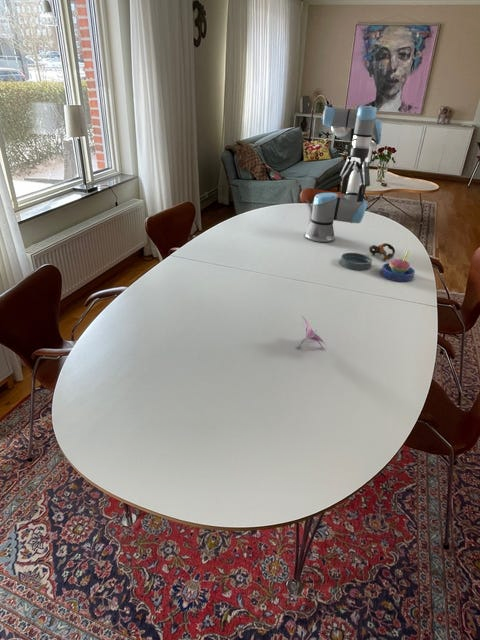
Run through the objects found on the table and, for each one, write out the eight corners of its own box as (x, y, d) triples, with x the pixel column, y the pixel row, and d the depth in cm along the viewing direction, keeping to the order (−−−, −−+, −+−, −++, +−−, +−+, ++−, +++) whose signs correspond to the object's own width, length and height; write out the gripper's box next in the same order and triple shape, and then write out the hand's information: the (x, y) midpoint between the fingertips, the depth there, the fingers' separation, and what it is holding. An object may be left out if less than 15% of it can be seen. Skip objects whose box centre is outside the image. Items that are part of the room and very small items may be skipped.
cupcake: (407, 273, 194) (414, 247, 188) (407, 280, 187) (414, 254, 181) (387, 269, 197) (393, 244, 191) (386, 276, 189) (393, 250, 183)
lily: (321, 363, 132) (337, 336, 130) (287, 346, 131) (303, 318, 129) (315, 352, 143) (329, 327, 142) (284, 336, 142) (298, 311, 141)
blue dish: (374, 270, 196) (376, 264, 194) (399, 268, 200) (401, 261, 198) (393, 283, 184) (395, 276, 183) (419, 280, 189) (421, 273, 187)
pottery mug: (386, 254, 215) (395, 244, 209) (387, 269, 210) (397, 258, 203) (364, 247, 213) (373, 236, 206) (365, 262, 208) (374, 251, 201)
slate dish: (334, 260, 204) (336, 253, 202) (359, 257, 208) (361, 251, 207) (350, 271, 193) (351, 265, 191) (376, 269, 197) (378, 262, 196)
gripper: (337, 142, 191) (329, 190, 201) (369, 152, 171) (359, 205, 181) (352, 142, 193) (343, 190, 204) (385, 152, 173) (374, 204, 184)
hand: (351, 197), depth 193 cm, fingers open, 13 cm apart
